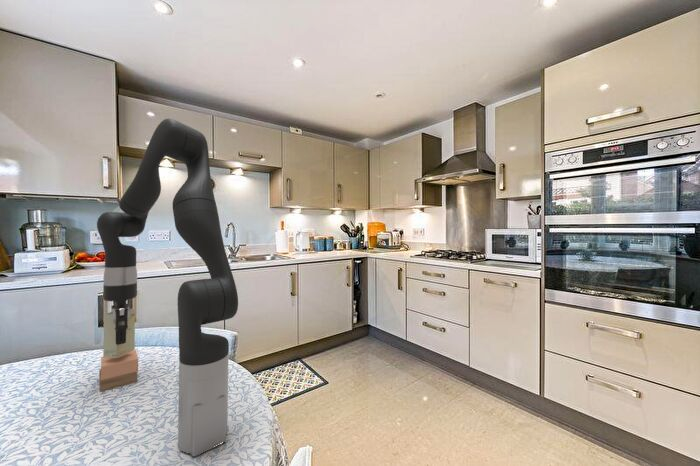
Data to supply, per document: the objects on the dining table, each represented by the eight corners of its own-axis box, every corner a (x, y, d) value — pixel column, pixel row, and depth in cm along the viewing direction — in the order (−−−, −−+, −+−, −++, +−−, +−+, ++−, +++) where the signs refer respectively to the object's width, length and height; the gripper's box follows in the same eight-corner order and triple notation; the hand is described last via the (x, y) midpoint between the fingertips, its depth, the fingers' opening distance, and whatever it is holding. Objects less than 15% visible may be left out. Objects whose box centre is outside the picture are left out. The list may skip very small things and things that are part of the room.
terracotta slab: (138, 370, 82) (138, 358, 82) (100, 380, 76) (101, 366, 76) (135, 361, 88) (135, 349, 88) (101, 368, 82) (101, 356, 82)
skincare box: (117, 358, 79) (118, 314, 79) (102, 358, 79) (102, 314, 79) (135, 349, 85) (136, 308, 85) (120, 349, 85) (121, 308, 85)
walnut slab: (136, 383, 82) (137, 371, 82) (99, 393, 76) (99, 380, 76) (134, 372, 88) (134, 361, 88) (99, 381, 82) (99, 369, 82)
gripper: (139, 284, 79) (138, 344, 79) (134, 277, 90) (133, 330, 90) (103, 287, 74) (103, 351, 74) (103, 280, 85) (102, 335, 85)
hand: (119, 339), depth 82 cm, fingers closed on skincare box, 7 cm apart
